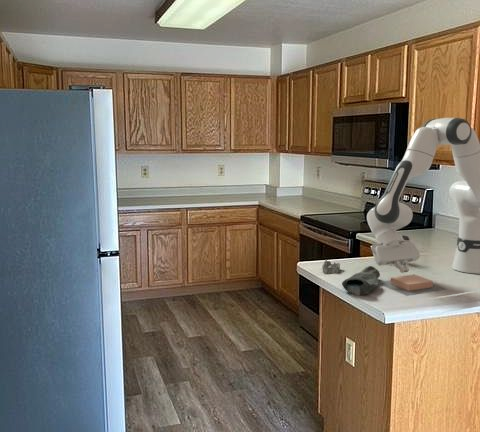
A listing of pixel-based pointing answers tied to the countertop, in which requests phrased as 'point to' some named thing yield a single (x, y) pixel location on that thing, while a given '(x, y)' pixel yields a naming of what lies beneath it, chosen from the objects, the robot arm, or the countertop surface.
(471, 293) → the countertop surface
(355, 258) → the countertop surface
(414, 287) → the tile
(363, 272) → the detergent
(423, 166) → the robot arm
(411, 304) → the countertop surface
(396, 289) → the mat
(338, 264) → the egg carton
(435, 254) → the countertop surface
